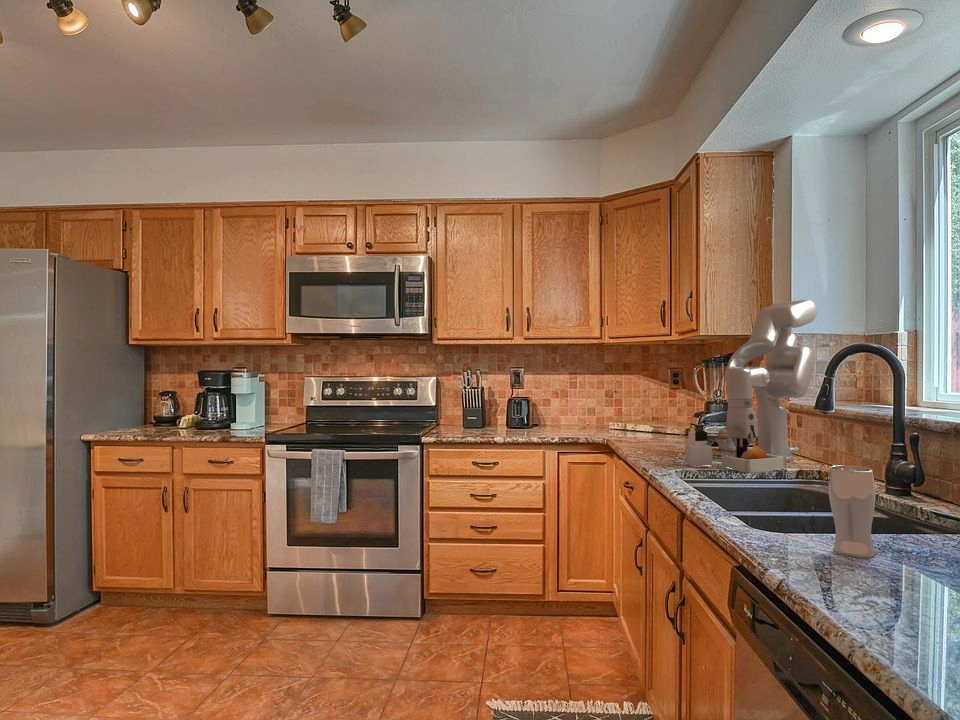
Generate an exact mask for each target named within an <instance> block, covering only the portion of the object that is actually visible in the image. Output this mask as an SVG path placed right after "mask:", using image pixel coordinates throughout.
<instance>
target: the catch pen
mask: <svg viewBox="0 0 960 720" xmlns="http://www.w3.org/2000/svg"><path fill="white" fill-rule="evenodd" d="M766 455H767V458H765V459H752V460H746V459H741V458H737V457H735V456H730V455H725V454H721V456H720V457H721V467H722V466H724V467H729V468H732V469H734V470H733V471H736V470H737V471H736V472H740V473H745V474H754V473H755V474H756V473H765V472H774V471H773V470H778V469H784V468H787V469H788V467H787V461H786V457H781V456H775V455H770V454H766Z"/></svg>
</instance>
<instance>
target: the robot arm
mask: <svg viewBox="0 0 960 720" xmlns="http://www.w3.org/2000/svg"><path fill="white" fill-rule="evenodd" d="M817 315H818V309H817V304H816V303H815V302H814V301H812V300H811V299H800V300H791V301H782V302H776V303H772V304H771V305H769V306H767V307H764V308H762V309H760V310H759V312H758V313H757V316H756V319H755V322H754V325H753V326H752V327H753V328H752V331H751V334H750V338H749V340H748V341H746V342H745V343H743V344H742V346H740V347H739V348H738V349H737V350H735V352H733V354H732V355H731V356H730V359H729V360H728V362H727V367H726V369H725V373H724V381H725V383H726V386H727V387H726V388H727V410H726V412H727V413H726V426H727V434H728V435H729V439H730V440H732V441H734V444H735V446H736V451H735V453H736V458H741V456H742V454H743V453H744V452H746V451H747V450H748V447H749V446H750V444H751V443H755V442H756V441H755V439H758V440H757V441H758V448H759V449H762V450H763V451H764V452H765V453H766V454H770V455H775V456H781V457H786V462H789V461H793V460H794V456H793V455H792V454H793V453H799V452H800V448H799V447H798V446H793V447H791V445H789V437H788V435H789V433H788V412H787V407H786V405H785V404H784V402H783V401H782V400H781V398H782V399H784V398H785V399H793V398H794V399H798V398H802V397H804V396H805V395H806V394H807V392H808V388H809V386H810V383H811V378H812V375H813V373H814V369H815V365H816V364H815V363H816V361H815V360H816V359H815V353H814V351H813V349H812V348H811V347H809V346H806V345H797V343H798V338H797V335H796V334H795V333H794V331H793V330H792V329H795V328H801V327H803V326H806V325H809V324H810V323H812V322H814V320H815V319H816V317H817ZM765 354H766V356H765V359H764V365H765V367H763V366H745V365H746V364H747V363H749V362H751V361H752V360H754V359H756V358H758V357H761V356H763V355H765ZM753 390H754V395H755V400H756V411H755V408H753V405H754V403H753ZM756 412H757V413H756ZM756 414H757V415H756Z"/></svg>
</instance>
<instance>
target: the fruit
mask: <svg viewBox="0 0 960 720" xmlns="http://www.w3.org/2000/svg"><path fill="white" fill-rule="evenodd" d="M765 458H767V455H766V453H765V452H764V451H763V450H762V449H759V447H757V448H756V447H753V448H750V449H747V451H746V452H744V453H743V454H742V456H741V459H746V460H752V459H765Z"/></svg>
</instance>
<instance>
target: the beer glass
mask: <svg viewBox="0 0 960 720" xmlns="http://www.w3.org/2000/svg"><path fill="white" fill-rule="evenodd" d="M873 473H874V472H873V469H872V468H869V467H866V466H865V467H864V466H859V465H858V466H857V465H832V466H829V467H828V497H829V498H828V499H829V505H830V509H831V513H832V517H833V521H834V527H835V539H834V545H833V551H834V552H835V553H837V554H838V555H842V556H846V557H851V558H858V559H869V558H874V556H875V555H876V554H875V549H874V544H873V540H872V527H873V526H872V525H873V519H874V513H875V508H876V507H875V506H876V489H875V487H876V486H875V479H874V474H873Z"/></svg>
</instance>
